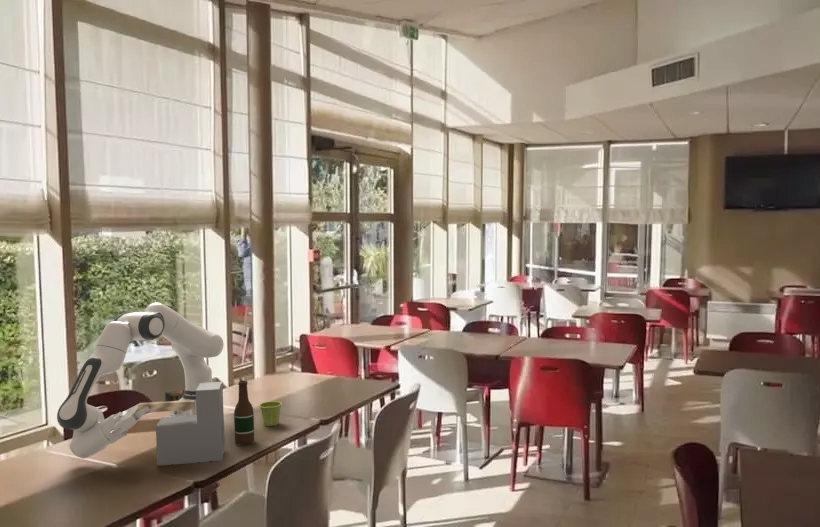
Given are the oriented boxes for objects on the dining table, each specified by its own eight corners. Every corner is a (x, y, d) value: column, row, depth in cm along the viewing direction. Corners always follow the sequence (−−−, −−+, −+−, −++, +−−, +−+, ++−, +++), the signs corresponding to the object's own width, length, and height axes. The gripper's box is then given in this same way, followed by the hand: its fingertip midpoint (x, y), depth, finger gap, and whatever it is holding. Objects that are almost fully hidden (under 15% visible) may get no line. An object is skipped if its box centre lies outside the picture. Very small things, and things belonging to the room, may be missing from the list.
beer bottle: (249, 445, 264) (247, 383, 263) (231, 445, 266) (228, 383, 264) (258, 439, 272) (256, 379, 270) (239, 438, 273) (237, 378, 272)
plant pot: (275, 428, 286) (274, 407, 286) (255, 426, 289) (254, 406, 289) (286, 422, 295) (285, 402, 295) (267, 420, 298) (266, 400, 298)
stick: (138, 413, 247) (138, 404, 246) (140, 411, 249) (139, 403, 249) (193, 409, 250) (193, 401, 250) (194, 407, 252) (194, 399, 252)
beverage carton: (209, 401, 334) (209, 387, 334) (170, 408, 322) (170, 394, 321) (202, 398, 340) (202, 384, 340) (164, 405, 328) (163, 391, 327)
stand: (157, 465, 244) (154, 392, 243) (163, 454, 256) (160, 385, 254) (221, 460, 248) (219, 389, 246) (224, 450, 260) (222, 381, 258)
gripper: (102, 428, 236) (138, 406, 238) (117, 412, 256) (150, 392, 258) (113, 443, 237) (149, 421, 239) (127, 426, 257) (160, 406, 259)
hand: (150, 406), depth 248 cm, fingers closed on stick, 2 cm apart
